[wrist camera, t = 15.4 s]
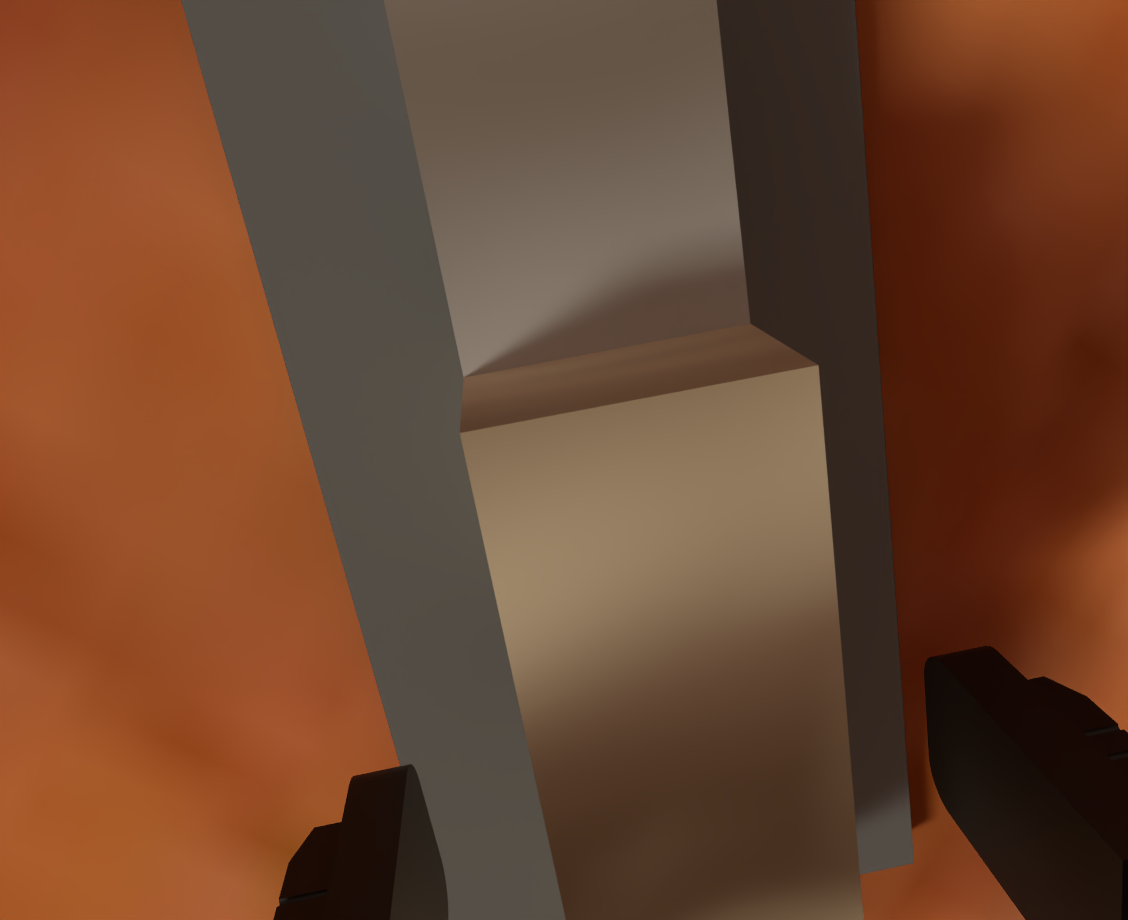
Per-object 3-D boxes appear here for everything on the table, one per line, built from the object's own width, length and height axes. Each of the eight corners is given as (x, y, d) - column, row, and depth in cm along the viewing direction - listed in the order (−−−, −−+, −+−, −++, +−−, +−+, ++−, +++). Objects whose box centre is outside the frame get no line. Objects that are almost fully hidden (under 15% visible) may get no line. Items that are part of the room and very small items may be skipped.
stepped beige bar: (761, 871, 16) (885, 1184, 11) (587, 907, 15) (635, 1238, 11) (634, -141, 11) (757, -379, 6) (379, -98, 11) (299, -303, 6)
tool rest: (456, 933, 16) (456, 960, 16) (111, -291, 10) (90, -318, 10) (898, 838, 16) (913, 862, 16) (804, -413, 10) (824, -446, 10)
